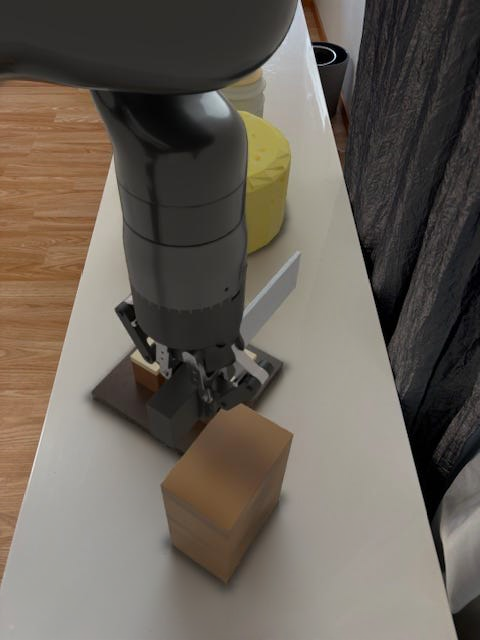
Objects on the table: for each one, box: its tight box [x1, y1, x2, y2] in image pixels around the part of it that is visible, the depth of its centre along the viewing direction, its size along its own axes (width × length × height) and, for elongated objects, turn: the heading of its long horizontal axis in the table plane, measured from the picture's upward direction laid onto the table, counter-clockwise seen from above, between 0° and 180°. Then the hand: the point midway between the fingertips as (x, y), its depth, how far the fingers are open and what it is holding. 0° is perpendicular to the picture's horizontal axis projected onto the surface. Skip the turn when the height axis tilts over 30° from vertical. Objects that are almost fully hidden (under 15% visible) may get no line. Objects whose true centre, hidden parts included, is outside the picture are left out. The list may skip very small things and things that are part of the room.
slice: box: [130, 337, 166, 393], centre depth 80 cm, size 10×4×6 cm, turn 147°
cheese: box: [238, 111, 292, 255], centre depth 101 cm, size 26×26×15 cm
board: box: [90, 336, 284, 457], centre depth 82 cm, size 20×20×2 cm
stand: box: [159, 403, 295, 584], centre depth 62 cm, size 12×8×18 cm, turn 147°
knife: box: [146, 250, 302, 450], centre depth 50 cm, size 22×2×5 cm, turn 146°
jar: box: [220, 67, 267, 118], centre depth 117 cm, size 13×13×18 cm
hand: (195, 402), depth 48 cm, fingers closed on knife, 2 cm apart
